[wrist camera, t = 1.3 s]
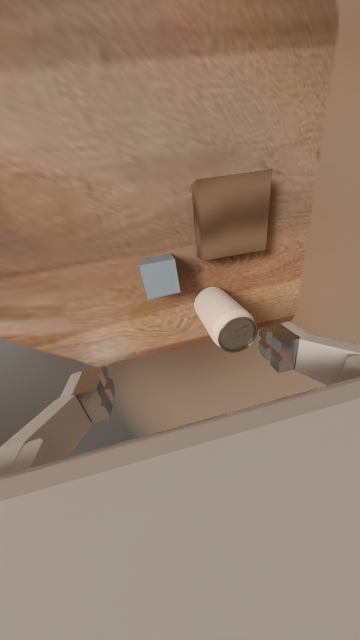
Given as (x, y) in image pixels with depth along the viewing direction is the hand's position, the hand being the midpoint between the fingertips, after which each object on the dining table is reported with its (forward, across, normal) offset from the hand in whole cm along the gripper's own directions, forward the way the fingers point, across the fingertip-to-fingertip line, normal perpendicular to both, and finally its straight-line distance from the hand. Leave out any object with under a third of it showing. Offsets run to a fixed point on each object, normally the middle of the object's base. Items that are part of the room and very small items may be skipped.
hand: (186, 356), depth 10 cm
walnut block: (+24, -12, -6) cm, 28 cm away
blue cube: (+24, 0, 0) cm, 24 cm away
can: (+25, -8, +8) cm, 27 cm away
